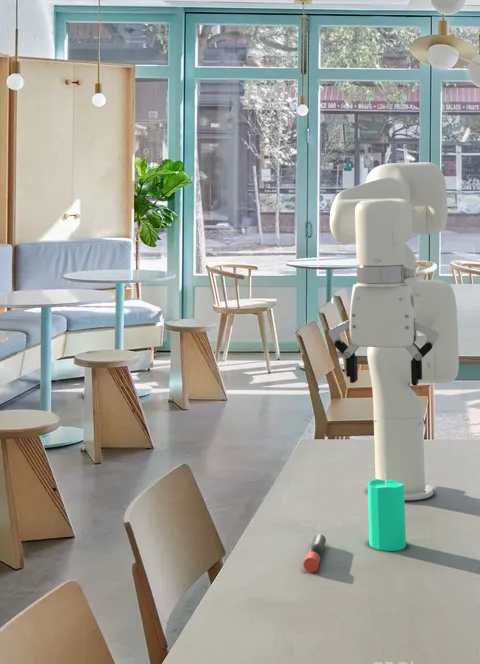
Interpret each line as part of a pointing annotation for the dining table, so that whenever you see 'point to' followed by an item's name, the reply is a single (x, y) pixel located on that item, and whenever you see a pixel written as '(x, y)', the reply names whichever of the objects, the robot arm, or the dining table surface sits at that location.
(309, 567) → the marker
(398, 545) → the candle
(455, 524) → the dining table surface
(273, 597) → the dining table surface
